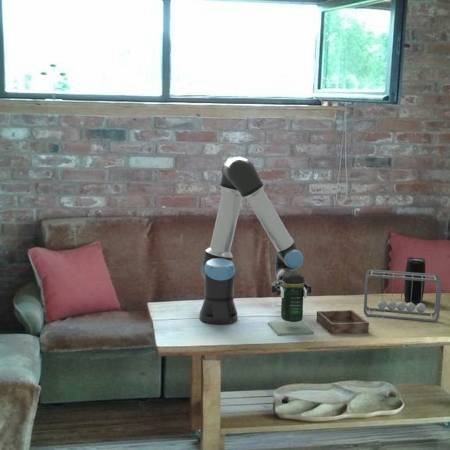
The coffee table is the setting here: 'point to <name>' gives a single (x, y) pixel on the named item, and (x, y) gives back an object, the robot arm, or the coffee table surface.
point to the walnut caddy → (342, 328)
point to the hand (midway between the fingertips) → (294, 294)
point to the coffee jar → (292, 296)
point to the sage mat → (290, 328)
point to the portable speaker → (415, 267)
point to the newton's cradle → (401, 305)
